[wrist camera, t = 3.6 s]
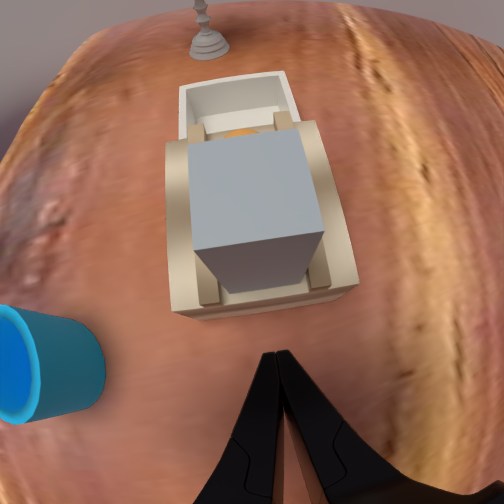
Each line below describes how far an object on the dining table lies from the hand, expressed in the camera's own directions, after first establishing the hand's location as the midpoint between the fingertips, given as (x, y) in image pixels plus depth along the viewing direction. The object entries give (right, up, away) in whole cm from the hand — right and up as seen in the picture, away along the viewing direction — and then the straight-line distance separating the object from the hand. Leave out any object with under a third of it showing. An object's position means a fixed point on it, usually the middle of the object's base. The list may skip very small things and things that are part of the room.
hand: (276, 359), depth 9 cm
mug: (-18, -6, +12) cm, 23 cm away
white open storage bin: (-2, +13, +16) cm, 21 cm away
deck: (0, +4, +14) cm, 14 cm away
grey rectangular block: (0, +3, +6) cm, 7 cm away
